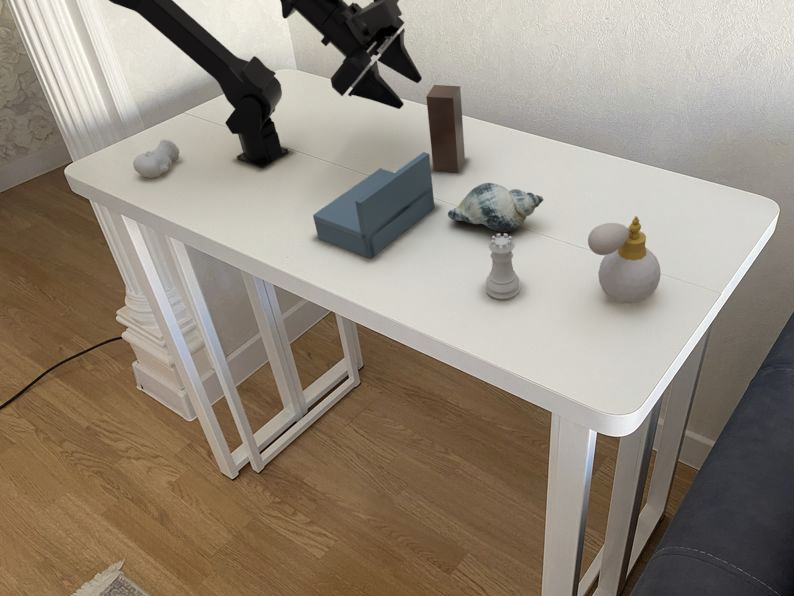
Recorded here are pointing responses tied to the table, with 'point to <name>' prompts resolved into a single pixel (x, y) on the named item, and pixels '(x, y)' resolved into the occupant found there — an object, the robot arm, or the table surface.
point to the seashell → (496, 207)
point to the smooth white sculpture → (156, 159)
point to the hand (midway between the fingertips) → (411, 93)
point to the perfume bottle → (625, 262)
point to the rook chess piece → (502, 269)
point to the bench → (378, 208)
